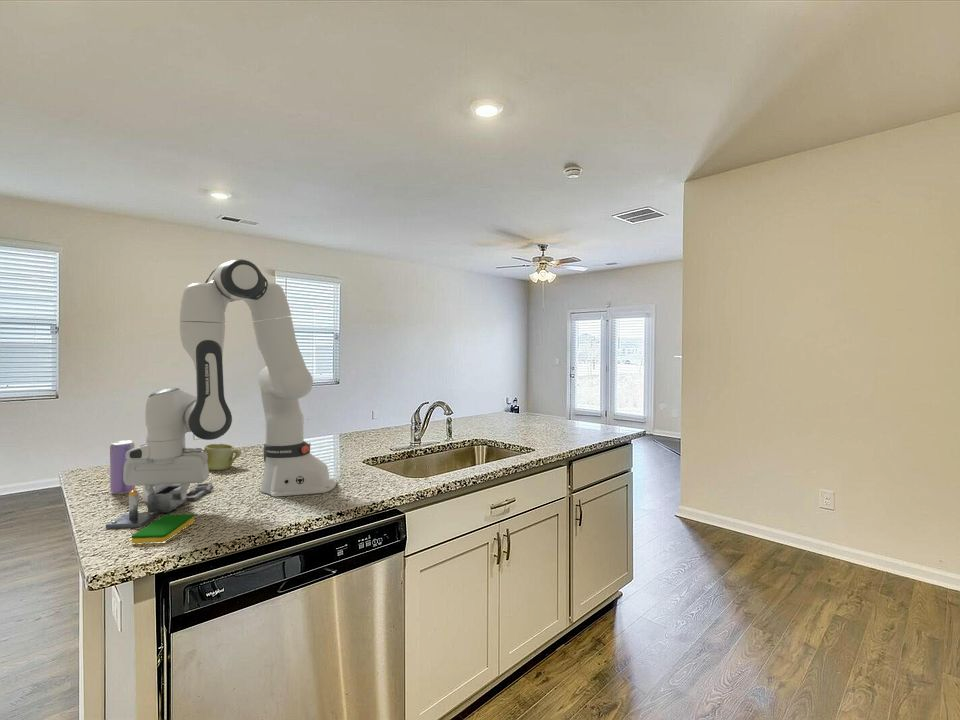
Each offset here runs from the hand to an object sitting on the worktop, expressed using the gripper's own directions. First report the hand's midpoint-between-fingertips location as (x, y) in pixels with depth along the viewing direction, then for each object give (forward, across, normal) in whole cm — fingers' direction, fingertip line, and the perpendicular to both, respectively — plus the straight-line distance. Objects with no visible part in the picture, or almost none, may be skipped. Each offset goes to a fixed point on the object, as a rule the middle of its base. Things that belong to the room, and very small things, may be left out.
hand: (168, 499), depth 131 cm
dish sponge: (+3, -8, +17) cm, 19 cm away
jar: (+3, +7, -10) cm, 12 cm away
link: (+2, 0, 0) cm, 2 cm away
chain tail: (+3, -1, -14) cm, 15 cm away
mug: (+3, +4, -45) cm, 45 cm away
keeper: (+2, +4, +9) cm, 10 cm away
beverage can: (+3, +22, -18) cm, 28 cm away
